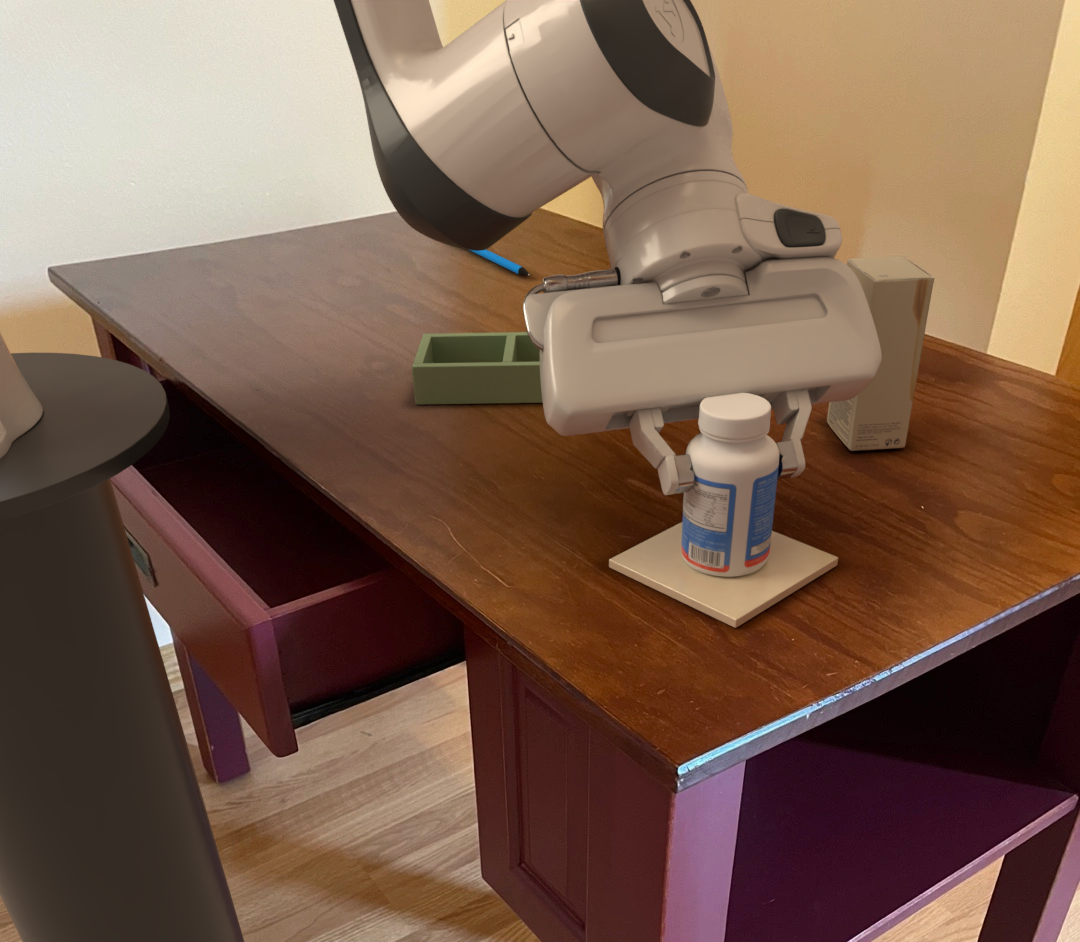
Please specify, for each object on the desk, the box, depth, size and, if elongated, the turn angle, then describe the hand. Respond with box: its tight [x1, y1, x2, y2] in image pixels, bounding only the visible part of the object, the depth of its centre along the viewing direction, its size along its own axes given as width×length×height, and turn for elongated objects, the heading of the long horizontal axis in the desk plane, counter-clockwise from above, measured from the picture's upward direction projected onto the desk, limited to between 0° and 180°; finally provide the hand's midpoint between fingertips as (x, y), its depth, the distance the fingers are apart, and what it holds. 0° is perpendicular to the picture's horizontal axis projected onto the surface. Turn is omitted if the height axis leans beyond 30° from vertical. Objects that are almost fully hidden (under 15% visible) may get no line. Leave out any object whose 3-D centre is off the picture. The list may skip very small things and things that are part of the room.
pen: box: [468, 249, 531, 277], centre depth 123 cm, size 1×19×1 cm, turn 29°
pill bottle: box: [681, 393, 779, 577], centre depth 64 cm, size 6×5×10 cm
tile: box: [608, 521, 839, 629], centre depth 67 cm, size 10×10×1 cm
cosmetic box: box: [826, 255, 935, 452], centre depth 79 cm, size 6×4×12 cm
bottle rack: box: [411, 331, 543, 406], centre depth 91 cm, size 8×15×3 cm, turn 88°
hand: (735, 482), depth 63 cm, fingers closed on pill bottle, 5 cm apart
